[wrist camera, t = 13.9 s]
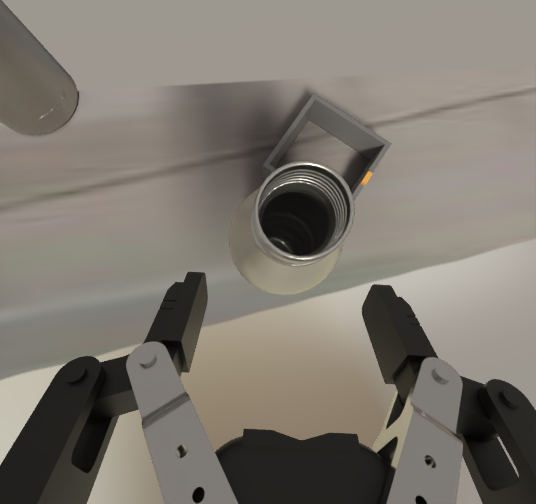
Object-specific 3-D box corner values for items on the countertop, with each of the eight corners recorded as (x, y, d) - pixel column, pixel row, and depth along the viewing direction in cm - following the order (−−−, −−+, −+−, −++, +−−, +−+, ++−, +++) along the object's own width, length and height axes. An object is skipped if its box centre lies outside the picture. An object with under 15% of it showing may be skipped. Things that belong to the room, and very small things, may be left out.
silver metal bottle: (312, 252, 29) (432, 193, 9) (275, 299, 28) (319, 345, 8) (268, 218, 29) (293, 86, 9) (231, 263, 28) (170, 224, 9)
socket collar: (261, 178, 30) (262, 163, 26) (307, 114, 31) (314, 90, 27) (332, 225, 29) (344, 217, 26) (376, 159, 31) (393, 141, 27)
